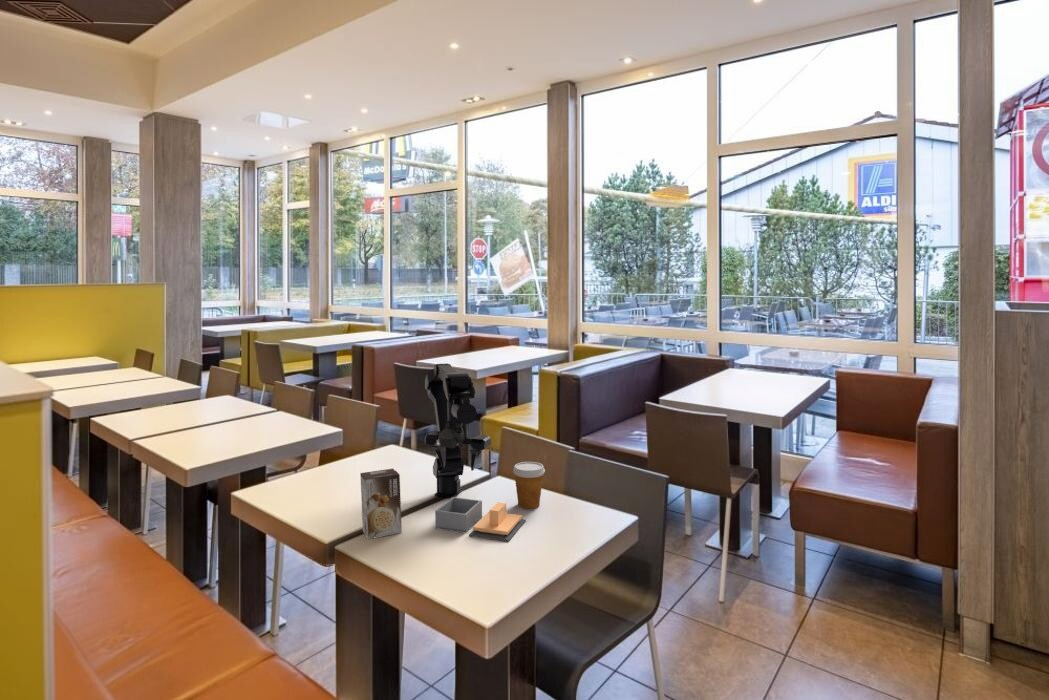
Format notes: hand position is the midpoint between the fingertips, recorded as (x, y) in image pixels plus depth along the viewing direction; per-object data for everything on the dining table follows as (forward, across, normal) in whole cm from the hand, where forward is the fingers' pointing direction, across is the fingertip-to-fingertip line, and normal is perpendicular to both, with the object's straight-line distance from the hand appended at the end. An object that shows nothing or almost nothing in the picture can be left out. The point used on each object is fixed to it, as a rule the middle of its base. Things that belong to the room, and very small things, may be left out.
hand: (457, 468), depth 173 cm
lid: (+11, +16, -10) cm, 22 cm away
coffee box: (+12, -12, -22) cm, 28 cm away
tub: (+12, +5, -10) cm, 16 cm away
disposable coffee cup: (+12, +19, +9) cm, 24 cm away
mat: (+12, +16, -10) cm, 23 cm away
